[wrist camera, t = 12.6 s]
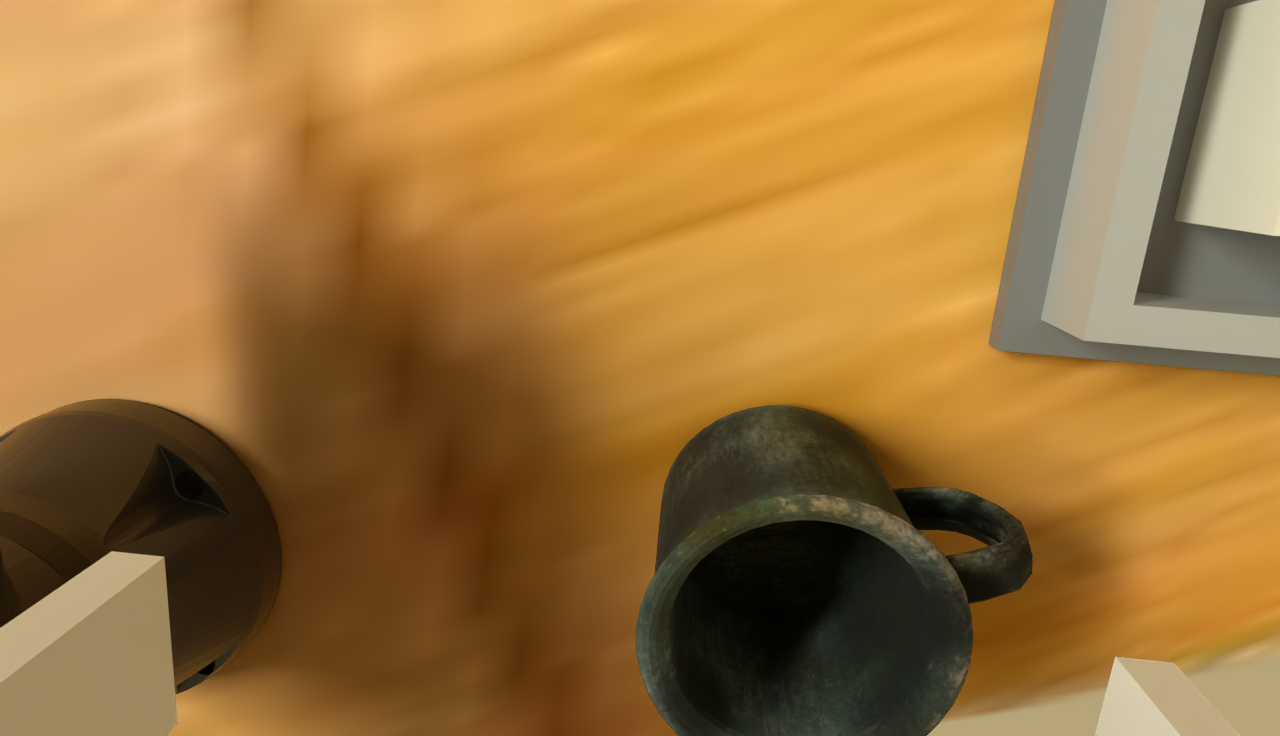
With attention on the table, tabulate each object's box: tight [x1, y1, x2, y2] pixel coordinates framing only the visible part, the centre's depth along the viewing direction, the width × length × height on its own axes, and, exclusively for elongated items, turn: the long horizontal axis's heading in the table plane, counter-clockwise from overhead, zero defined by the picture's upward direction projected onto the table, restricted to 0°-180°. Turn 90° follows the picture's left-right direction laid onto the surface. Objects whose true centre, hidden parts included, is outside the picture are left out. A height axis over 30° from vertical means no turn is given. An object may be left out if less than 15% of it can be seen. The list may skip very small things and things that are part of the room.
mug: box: [636, 406, 1032, 736], centre depth 33 cm, size 11×15×12 cm
